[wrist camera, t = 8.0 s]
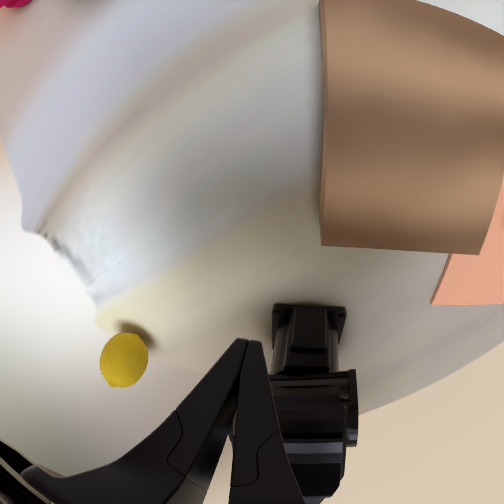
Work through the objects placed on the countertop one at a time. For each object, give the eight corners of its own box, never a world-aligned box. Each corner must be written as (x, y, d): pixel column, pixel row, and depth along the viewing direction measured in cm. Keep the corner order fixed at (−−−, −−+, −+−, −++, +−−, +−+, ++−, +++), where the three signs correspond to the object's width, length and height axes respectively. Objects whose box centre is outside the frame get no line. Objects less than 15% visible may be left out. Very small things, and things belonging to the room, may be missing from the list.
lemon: (164, 350, 33) (141, 403, 26) (130, 345, 34) (106, 393, 28) (145, 320, 30) (115, 377, 23) (111, 317, 31) (80, 367, 25)
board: (456, 224, 17) (478, 255, 14) (319, 213, 19) (321, 245, 16) (478, 41, 9) (512, 41, 6) (318, 4, 11) (322, -16, 8)
